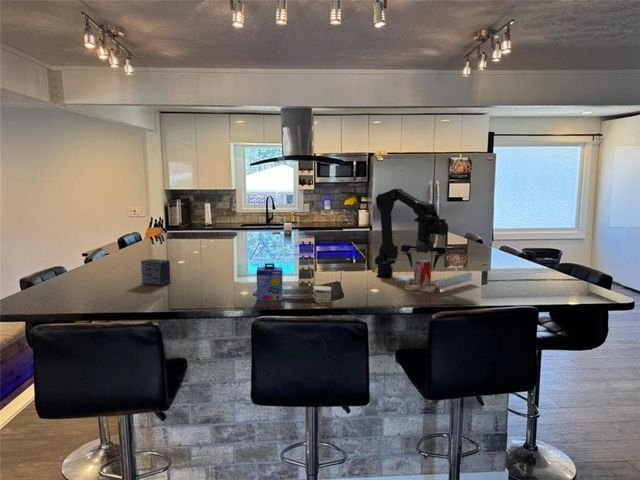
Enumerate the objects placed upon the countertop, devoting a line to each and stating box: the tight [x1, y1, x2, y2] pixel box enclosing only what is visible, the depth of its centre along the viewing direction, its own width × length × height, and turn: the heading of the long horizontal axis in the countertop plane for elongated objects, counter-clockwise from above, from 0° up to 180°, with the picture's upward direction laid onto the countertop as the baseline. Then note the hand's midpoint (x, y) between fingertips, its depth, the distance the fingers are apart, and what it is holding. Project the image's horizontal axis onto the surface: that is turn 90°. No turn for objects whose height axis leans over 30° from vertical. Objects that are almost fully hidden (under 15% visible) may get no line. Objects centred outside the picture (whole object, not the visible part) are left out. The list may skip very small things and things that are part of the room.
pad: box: [395, 274, 414, 282], centre depth 201 cm, size 11×11×1 cm
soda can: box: [413, 258, 432, 287], centre depth 185 cm, size 7×7×12 cm
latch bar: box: [434, 272, 473, 290], centre depth 185 cm, size 2×26×4 cm, turn 129°
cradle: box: [403, 278, 441, 294], centre depth 186 cm, size 15×14×2 cm
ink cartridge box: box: [256, 262, 283, 302], centre depth 165 cm, size 10×6×14 cm, turn 95°
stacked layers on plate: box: [312, 285, 332, 304], centre depth 164 cm, size 10×9×6 cm
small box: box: [140, 258, 171, 287], centre depth 186 cm, size 11×6×10 cm, turn 71°
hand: (422, 268), depth 185 cm, fingers open, 9 cm apart
